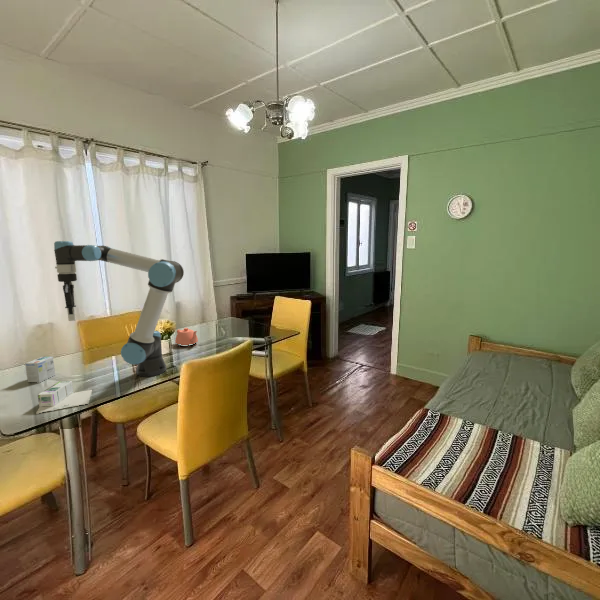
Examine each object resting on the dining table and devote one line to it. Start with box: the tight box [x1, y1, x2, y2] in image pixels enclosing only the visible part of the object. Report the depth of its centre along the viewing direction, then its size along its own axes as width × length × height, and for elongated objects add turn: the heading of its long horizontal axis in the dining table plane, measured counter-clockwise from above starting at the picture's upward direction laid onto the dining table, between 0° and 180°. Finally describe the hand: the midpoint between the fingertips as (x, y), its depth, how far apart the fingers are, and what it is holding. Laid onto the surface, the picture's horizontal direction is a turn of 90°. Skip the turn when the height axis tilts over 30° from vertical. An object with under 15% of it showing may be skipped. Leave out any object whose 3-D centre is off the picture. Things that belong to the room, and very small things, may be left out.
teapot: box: [174, 327, 199, 345], centre depth 230 cm, size 22×15×12 cm
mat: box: [35, 389, 93, 415], centre depth 144 cm, size 18×16×1 cm
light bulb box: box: [24, 356, 56, 384], centre depth 169 cm, size 11×7×11 cm, turn 178°
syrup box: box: [37, 380, 74, 408], centre depth 144 cm, size 6×6×14 cm
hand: (72, 320), depth 161 cm, fingers closed
